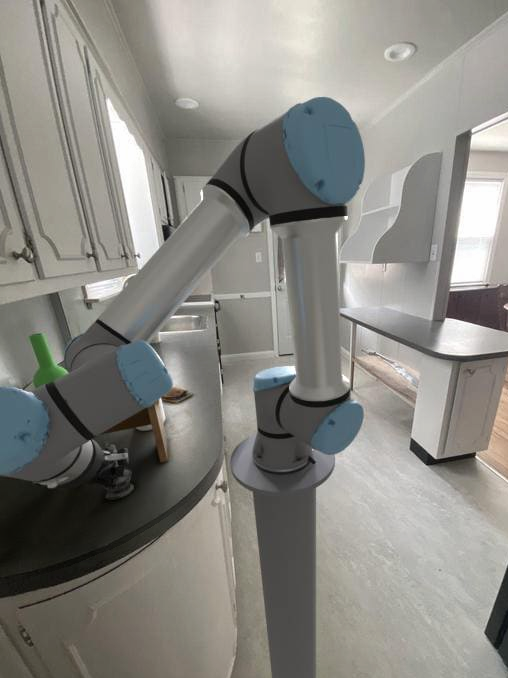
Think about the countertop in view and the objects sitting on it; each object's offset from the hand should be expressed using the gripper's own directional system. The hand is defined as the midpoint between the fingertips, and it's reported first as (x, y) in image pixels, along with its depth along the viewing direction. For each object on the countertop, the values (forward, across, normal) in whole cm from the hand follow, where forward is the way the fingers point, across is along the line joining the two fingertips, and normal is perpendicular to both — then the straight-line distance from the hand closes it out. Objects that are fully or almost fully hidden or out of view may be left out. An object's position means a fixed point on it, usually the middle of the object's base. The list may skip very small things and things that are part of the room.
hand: (111, 479), depth 61 cm
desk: (+14, 0, +7) cm, 15 cm away
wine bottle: (+25, -14, +17) cm, 33 cm away
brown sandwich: (+38, +13, +31) cm, 51 cm away
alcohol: (+26, +5, +18) cm, 32 cm away
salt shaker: (+5, 0, -2) cm, 5 cm away
